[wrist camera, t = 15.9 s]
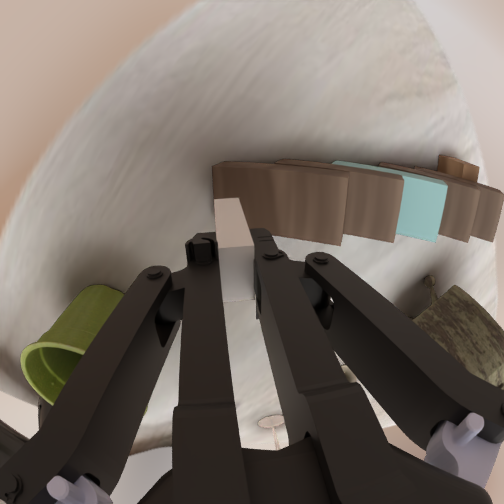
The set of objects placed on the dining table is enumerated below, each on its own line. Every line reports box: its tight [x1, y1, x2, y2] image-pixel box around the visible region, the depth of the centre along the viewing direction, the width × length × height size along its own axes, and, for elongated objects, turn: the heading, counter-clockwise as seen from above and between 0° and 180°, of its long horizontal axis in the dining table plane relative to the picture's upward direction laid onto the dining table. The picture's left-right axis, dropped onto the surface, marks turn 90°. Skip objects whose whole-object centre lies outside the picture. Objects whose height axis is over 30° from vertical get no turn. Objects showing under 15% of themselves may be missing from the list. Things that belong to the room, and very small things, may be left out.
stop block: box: [437, 155, 479, 182], centre depth 25 cm, size 3×8×4 cm, turn 0°
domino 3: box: [378, 162, 481, 243], centre depth 22 cm, size 2×5×10 cm
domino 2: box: [274, 159, 404, 243], centre depth 22 cm, size 2×5×10 cm
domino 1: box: [212, 161, 350, 246], centre depth 21 cm, size 2×5×10 cm
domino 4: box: [414, 166, 504, 242], centre depth 22 cm, size 2×5×10 cm
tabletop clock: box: [410, 276, 504, 390], centre depth 24 cm, size 14×9×25 cm, turn 37°
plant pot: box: [20, 285, 148, 415], centre depth 23 cm, size 12×12×11 cm
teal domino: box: [332, 160, 448, 243], centre depth 22 cm, size 2×5×10 cm
